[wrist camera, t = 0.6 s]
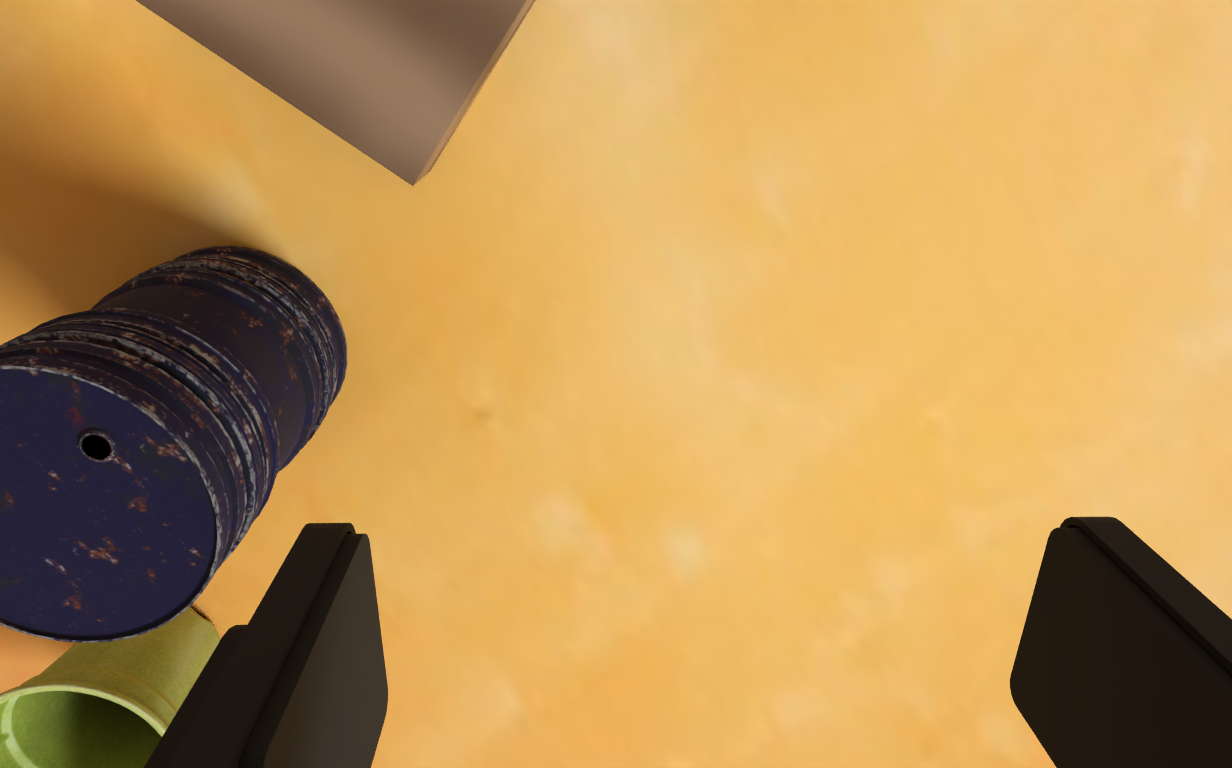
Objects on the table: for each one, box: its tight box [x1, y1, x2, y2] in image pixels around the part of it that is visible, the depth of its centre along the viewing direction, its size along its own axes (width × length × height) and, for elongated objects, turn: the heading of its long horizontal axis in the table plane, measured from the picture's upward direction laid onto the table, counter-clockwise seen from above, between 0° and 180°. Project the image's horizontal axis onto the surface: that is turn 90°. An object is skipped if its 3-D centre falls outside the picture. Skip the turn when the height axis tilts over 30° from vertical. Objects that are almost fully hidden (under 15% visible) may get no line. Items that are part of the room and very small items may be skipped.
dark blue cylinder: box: [0, 246, 347, 643], centre depth 31 cm, size 10×10×15 cm
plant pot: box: [0, 607, 220, 768], centre depth 40 cm, size 9×9×9 cm
